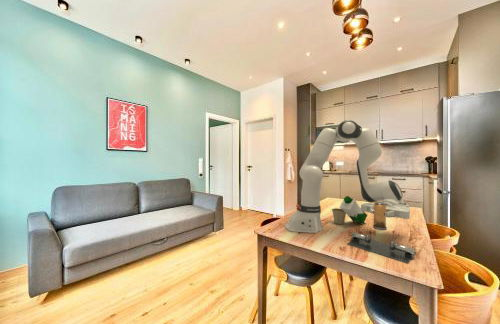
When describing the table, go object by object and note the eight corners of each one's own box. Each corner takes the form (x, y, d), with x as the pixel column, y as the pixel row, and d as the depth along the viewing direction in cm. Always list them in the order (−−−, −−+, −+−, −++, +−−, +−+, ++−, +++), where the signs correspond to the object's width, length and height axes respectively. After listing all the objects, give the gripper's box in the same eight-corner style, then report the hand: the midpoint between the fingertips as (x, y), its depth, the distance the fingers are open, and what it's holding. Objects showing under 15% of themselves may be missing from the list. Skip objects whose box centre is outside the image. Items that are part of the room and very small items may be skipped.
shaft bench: (346, 244, 98) (346, 234, 98) (357, 236, 107) (357, 227, 107) (409, 264, 79) (409, 252, 78) (417, 253, 87) (417, 242, 87)
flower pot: (344, 221, 135) (344, 208, 135) (349, 225, 125) (349, 212, 125) (329, 220, 136) (329, 208, 136) (334, 225, 127) (334, 211, 126)
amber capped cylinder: (377, 230, 90) (377, 204, 90) (370, 226, 96) (370, 202, 96) (389, 230, 90) (389, 204, 90) (381, 226, 96) (381, 201, 96)
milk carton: (369, 214, 129) (354, 196, 121) (364, 226, 126) (348, 209, 119) (356, 211, 136) (342, 194, 129) (351, 222, 134) (336, 206, 126)
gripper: (366, 199, 109) (355, 202, 100) (413, 205, 94) (405, 210, 85) (366, 210, 109) (355, 215, 100) (413, 218, 94) (405, 225, 85)
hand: (379, 213), depth 92 cm, fingers closed on amber capped cylinder, 5 cm apart
